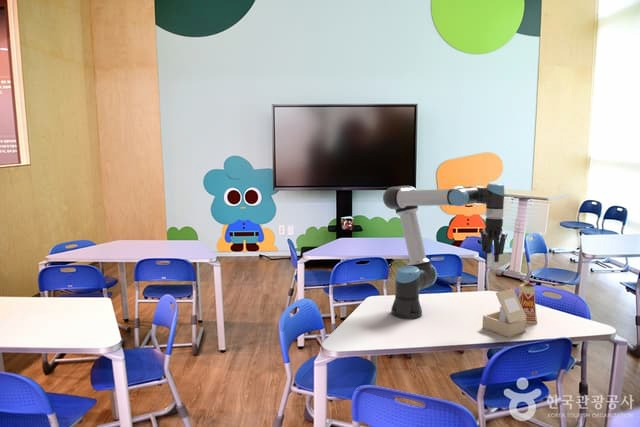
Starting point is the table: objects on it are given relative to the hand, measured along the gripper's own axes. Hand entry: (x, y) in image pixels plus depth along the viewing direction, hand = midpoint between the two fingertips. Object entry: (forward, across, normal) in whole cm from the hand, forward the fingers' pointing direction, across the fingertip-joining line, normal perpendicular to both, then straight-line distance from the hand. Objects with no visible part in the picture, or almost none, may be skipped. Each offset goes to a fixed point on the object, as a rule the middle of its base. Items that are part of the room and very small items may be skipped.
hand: (491, 267), depth 224 cm
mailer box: (+27, +8, 0) cm, 29 cm away
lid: (+15, +11, 0) cm, 19 cm away
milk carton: (+28, +5, +21) cm, 35 cm away
